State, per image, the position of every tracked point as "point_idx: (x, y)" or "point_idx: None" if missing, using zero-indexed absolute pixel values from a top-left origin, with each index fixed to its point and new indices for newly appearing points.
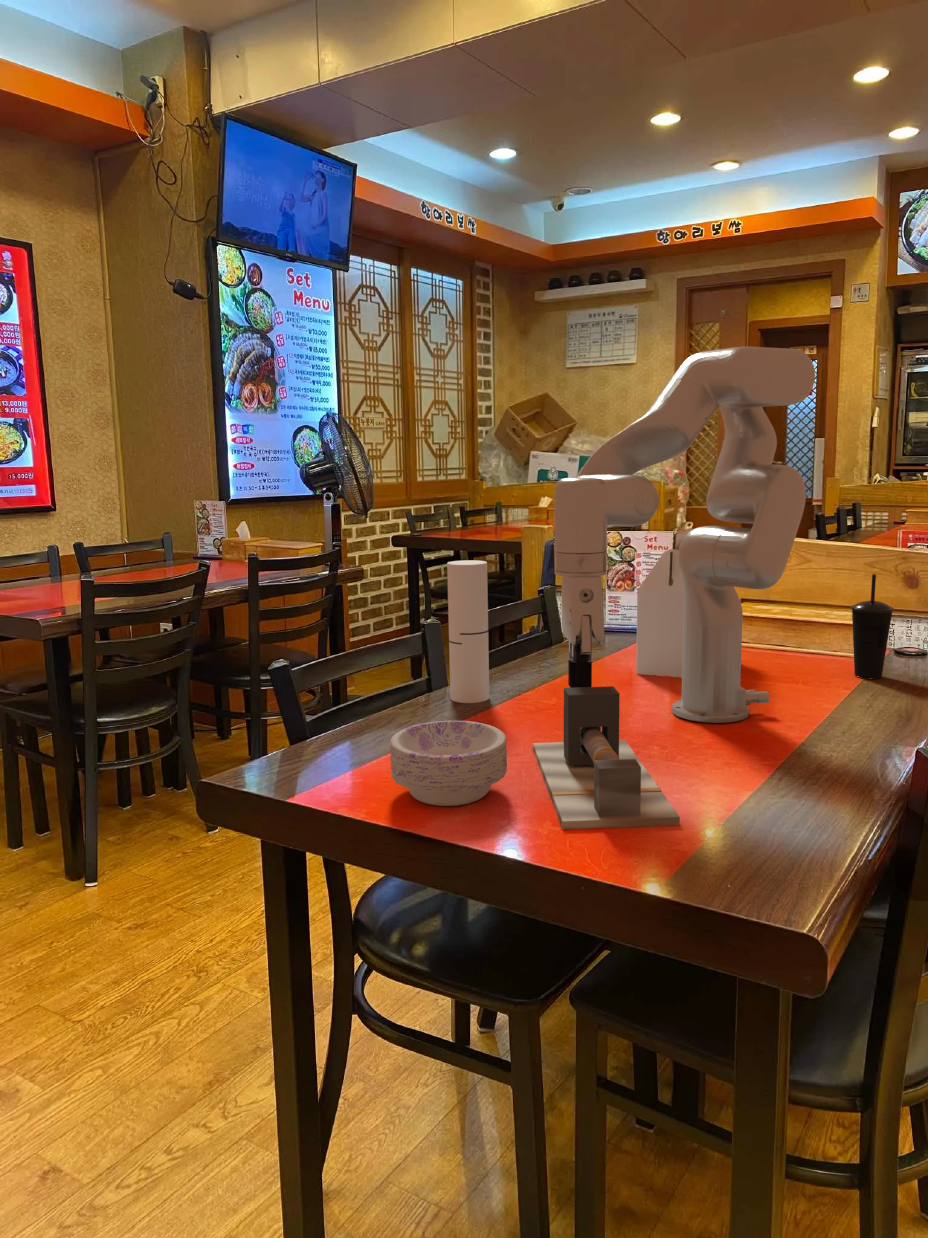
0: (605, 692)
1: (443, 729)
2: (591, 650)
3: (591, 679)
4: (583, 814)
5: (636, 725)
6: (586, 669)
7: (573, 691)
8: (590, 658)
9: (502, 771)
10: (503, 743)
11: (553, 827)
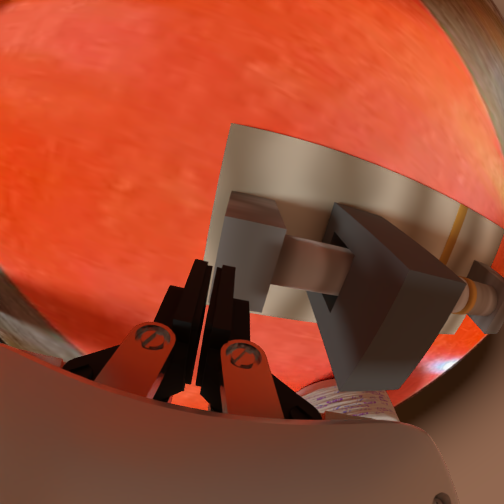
0: (439, 314)
1: None
2: (277, 401)
3: (233, 281)
4: (457, 314)
5: (109, 59)
6: (248, 335)
7: (381, 378)
8: (265, 365)
9: (382, 391)
10: (389, 415)
11: (442, 335)
